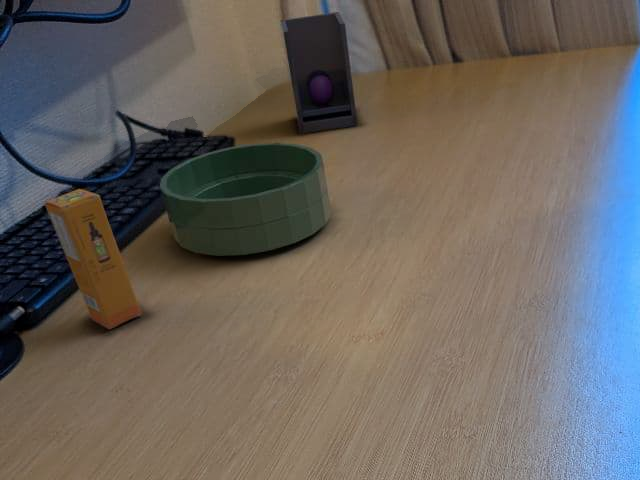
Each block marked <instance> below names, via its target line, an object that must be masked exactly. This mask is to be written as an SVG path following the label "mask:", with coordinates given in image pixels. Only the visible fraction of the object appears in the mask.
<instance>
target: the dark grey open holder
mask: <svg viewBox="0 0 640 480" xmlns="http://www.w3.org/2000/svg"><path fill="white" fill-rule="evenodd" d="M279 23H280V27H281V32H282V39H283V46H284V50H285V56H286V57H285V58H286V63H287V69H288V74H289V79H290V80H289V81H290V86H291V93H292V98H293V104H294V110H295V116H296V120H297V125H298V129H299V134H300V135H303V134H310V133H315V132H323V131H329V130H336V129H343V128H349V127H355V126H359V123H358V116H357V108H356V101H355V91H354V83H353V77H352V76H353V75H352V68H351V60H350V51H349V43H348V35H347V28H346V27H347V26H346V22H345V21H344V19H343V18H342V15H341V14H340V12H339V11H336V12H327V13H321V14H315V15H307V16H301V17H293V18H287V19H281V20H280V21H279ZM316 76H325V77H327V78H328V79H330V81H331V82H332V84H333V86H334V95H333V98H332V100H331V101H330V102H329V103H327V104H324V105H320V104H317V103H315V102H314V101H313V100H312V99H311V97H310V95H309V84H310V82H311V80H312V79H313V78H315V77H316Z"/></svg>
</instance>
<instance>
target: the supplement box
mask: <svg viewBox="0 0 640 480" xmlns="http://www.w3.org/2000/svg"><path fill="white" fill-rule="evenodd" d="M44 205H45V208H46V211H47V213H48V216H49V219H50V221H51V223H52V226H53V228H54V230H55V233H56V236H57V238H58V241H59V243H60V245H61V248H62V250H63V252H64V255H65V257H66V260H67V262H68V265H69V268H70V270H71V272H72V275H73V277H74V279H75V282H76V284H77V287H78V289H79V292H80V294H81V297H82V299H83V301H84V303H85V305H86V308H87V311H88V313H89V315H90V318H91V320H92V321H93V322H95V323H97V324H98V325H101V326H102V327H103V328H106V329H108V330H112V329H114V328H116V327H118V326H120V325H122V324H123V323H126V322H128V321H130V320H133V319H135V318H138V317H140V316H142V310H141V308H140V306H139V303H138V299H137V297H136V294H135V292H134V288H133V286H132V283H131V280H130V277H129V275H128V271H127V269H126V266H125V263H124V261H123V258H122V255H121V252H120V249H119V247H118V244H117V241H116V238H115V236H114V232H113V230H112V227H111V225H110V222H109V220H108V216H107V214H106V211H105V207H104V205H103V202H102V199H101V196H100V194H97V193H94V192H91V191H88V190H85V189H82V188H78V189H75V190H72V191H70V192H67V193H65V194H62V195H59V196H57V197H54V198H51V199H49V200H46V201H45V202H44Z"/></svg>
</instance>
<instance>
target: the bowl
mask: <svg viewBox="0 0 640 480" xmlns="http://www.w3.org/2000/svg"><path fill="white" fill-rule="evenodd" d="M159 190H160V194H161V197H162V200H163V204H164V207H165V210H166V213H167V218H168V222H169V224H170V228H171V231H172V235H173V238H174V240H175V241H176V242H177V244H178V245H179V246H180V247H181V248H182V249H185V250H187V251H190V252H192V253H195V254H200V255H206V256H208V255H209V256H215V257H218V256H219V257H221V256H225V257H226V256H245V255H246V256H247V255H253V254H259V253H265V252H270V251H273V250H277V249H281V248H284V247H287V246H290V245H292V244H295V243H297V242H300V241H301V240H304V239H306V238H308V237H310V236H312V235H315V233H316V232H318V231H319V230H320V229H322V228H324V226H326V225H327V223H328V221H329V219H330V218H331V215H332V210H331V204H330V197H329V196H330V195H329V190H328V183H327V176H326V171H325V164H324V160H323V156H322V154H321V153H320V152H319V151H317V150H315V149H314V148H313V147H310V146H305V145H301V144H297V143H287V142H286V143H285V142H263V143H262V142H261V143H249V144H243V145H237V146H231V147H225V148H221V149H217V150H213V151H209V152H205V153H203V154H200V155H197V156H194V157H192V158H189V159H186V160H185V161H183V162H181V163H179V164H178V165H176V166H174V167H172V168H171V169H169V170H168V171H167V172H166V173H165V174H164V175H163V176H162V177H161V178H160V184H159Z"/></svg>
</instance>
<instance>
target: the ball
mask: <svg viewBox="0 0 640 480" xmlns="http://www.w3.org/2000/svg"><path fill="white" fill-rule="evenodd" d="M309 95H310V97H311V99H312V100H313V101H314V102H315V103H317V104H320V105H324V104H327V103H329V102H330V101H331V100H332V98H333V95H334V86H333V84H332V82H331V81H330V79H328V78H327V77H325V76H316V77H315V78H313V79H312V80H311V82H310V84H309Z"/></svg>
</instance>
